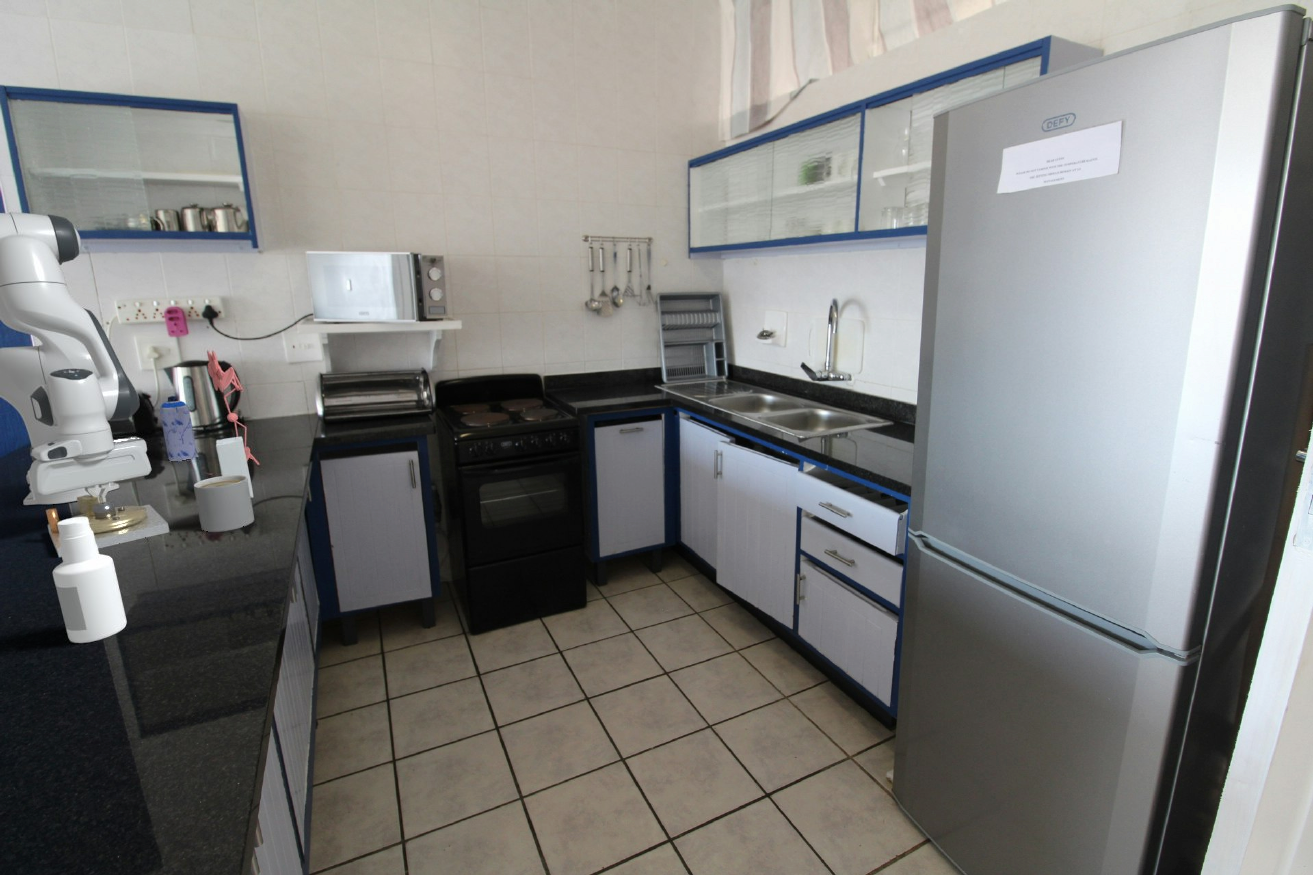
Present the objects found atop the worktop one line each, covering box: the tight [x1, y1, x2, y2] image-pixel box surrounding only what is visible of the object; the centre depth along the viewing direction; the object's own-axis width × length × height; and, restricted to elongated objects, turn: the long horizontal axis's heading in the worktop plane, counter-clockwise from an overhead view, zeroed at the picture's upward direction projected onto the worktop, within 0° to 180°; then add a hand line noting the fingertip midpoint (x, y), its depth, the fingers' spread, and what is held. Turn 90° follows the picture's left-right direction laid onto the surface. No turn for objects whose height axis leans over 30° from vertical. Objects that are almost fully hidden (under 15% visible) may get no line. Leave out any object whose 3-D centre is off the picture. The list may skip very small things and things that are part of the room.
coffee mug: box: [193, 475, 255, 533], centre depth 146 cm, size 13×10×10 cm
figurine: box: [201, 350, 260, 475], centre depth 192 cm, size 15×26×35 cm, turn 42°
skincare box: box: [215, 436, 254, 499], centre depth 165 cm, size 8×6×15 cm
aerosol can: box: [159, 395, 199, 462], centre depth 205 cm, size 8×8×20 cm
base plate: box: [45, 504, 170, 558], centre depth 141 cm, size 20×18×7 cm
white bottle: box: [52, 516, 128, 644], centre depth 97 cm, size 7×7×18 cm
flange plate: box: [72, 495, 147, 533], centre depth 141 cm, size 16×14×5 cm
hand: (100, 503), depth 145 cm, fingers closed
